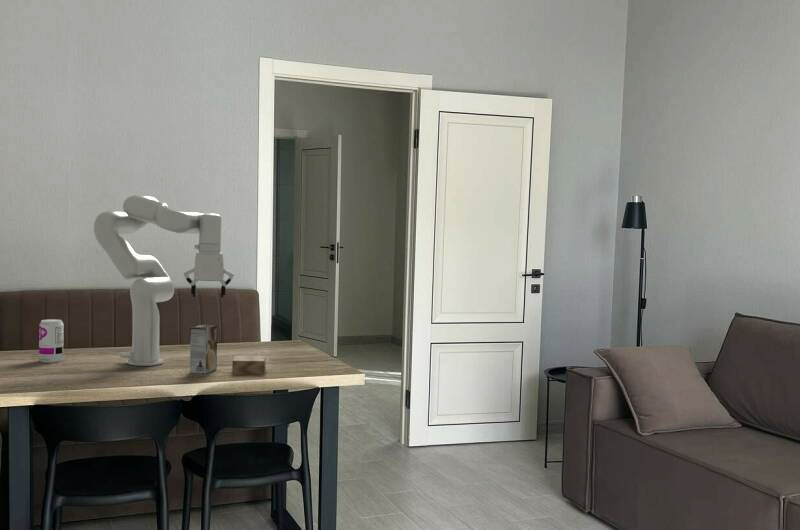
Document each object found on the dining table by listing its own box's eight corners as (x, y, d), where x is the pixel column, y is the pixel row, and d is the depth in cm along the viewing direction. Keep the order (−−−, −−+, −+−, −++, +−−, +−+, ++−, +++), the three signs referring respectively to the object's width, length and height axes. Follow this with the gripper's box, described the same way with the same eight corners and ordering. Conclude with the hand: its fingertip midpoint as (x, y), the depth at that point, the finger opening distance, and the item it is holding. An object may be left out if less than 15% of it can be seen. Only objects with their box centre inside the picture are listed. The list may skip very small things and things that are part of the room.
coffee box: (200, 368, 293) (201, 324, 292) (217, 369, 291) (218, 325, 291) (189, 372, 284) (189, 327, 283) (206, 374, 282) (206, 328, 282)
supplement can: (42, 363, 292) (43, 322, 291) (36, 360, 298) (36, 319, 297) (66, 361, 297) (66, 321, 296) (59, 358, 303) (59, 318, 303)
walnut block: (232, 375, 284) (232, 360, 284) (234, 369, 295) (235, 355, 295) (264, 375, 285) (264, 361, 285) (265, 369, 296) (265, 355, 296)
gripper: (183, 248, 281) (182, 297, 282) (234, 250, 284) (232, 298, 285) (185, 247, 289) (184, 295, 290) (235, 249, 291) (233, 296, 292)
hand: (208, 297), depth 287 cm, fingers open, 9 cm apart
